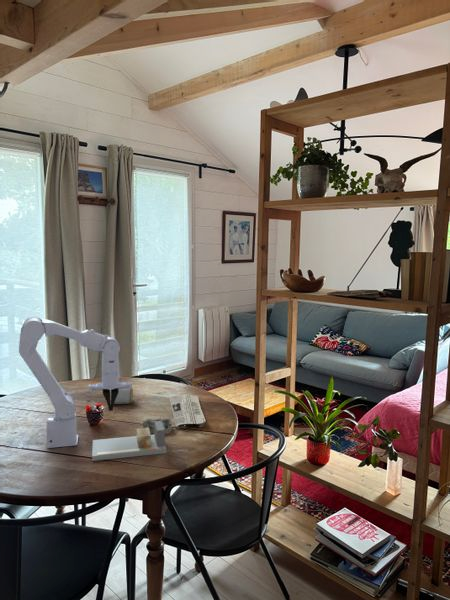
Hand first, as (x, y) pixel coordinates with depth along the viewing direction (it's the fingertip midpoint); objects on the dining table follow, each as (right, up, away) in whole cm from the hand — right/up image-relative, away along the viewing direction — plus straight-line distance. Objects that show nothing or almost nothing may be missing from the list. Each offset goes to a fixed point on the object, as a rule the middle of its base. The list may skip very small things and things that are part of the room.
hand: (110, 409), depth 154 cm
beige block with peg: (+13, -9, -9) cm, 18 cm away
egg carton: (+15, -10, +7) cm, 19 cm away
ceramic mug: (-4, -6, +35) cm, 36 cm away
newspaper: (+25, -8, +25) cm, 36 cm away
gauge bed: (+8, -11, -9) cm, 16 cm away
